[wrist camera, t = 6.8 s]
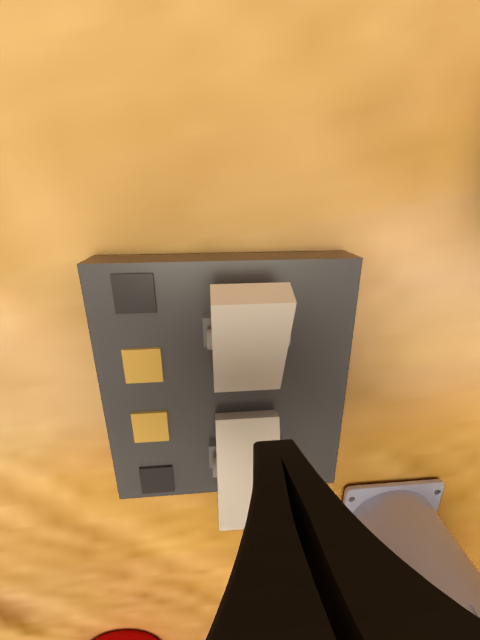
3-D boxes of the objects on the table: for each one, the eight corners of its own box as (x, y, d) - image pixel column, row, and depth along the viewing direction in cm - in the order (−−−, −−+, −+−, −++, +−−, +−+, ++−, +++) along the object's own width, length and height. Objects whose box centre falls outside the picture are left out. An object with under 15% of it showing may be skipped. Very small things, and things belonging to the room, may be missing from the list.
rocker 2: (281, 509, 19) (287, 525, 18) (214, 515, 19) (214, 531, 18) (278, 408, 19) (283, 416, 18) (210, 412, 19) (210, 420, 18)
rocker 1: (279, 366, 18) (284, 388, 17) (209, 370, 18) (209, 392, 17) (295, 280, 14) (302, 302, 13) (204, 282, 14) (204, 305, 13)
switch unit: (322, 455, 24) (337, 491, 21) (128, 468, 23) (116, 508, 20) (343, 250, 19) (368, 260, 16) (94, 255, 18) (71, 266, 15)
